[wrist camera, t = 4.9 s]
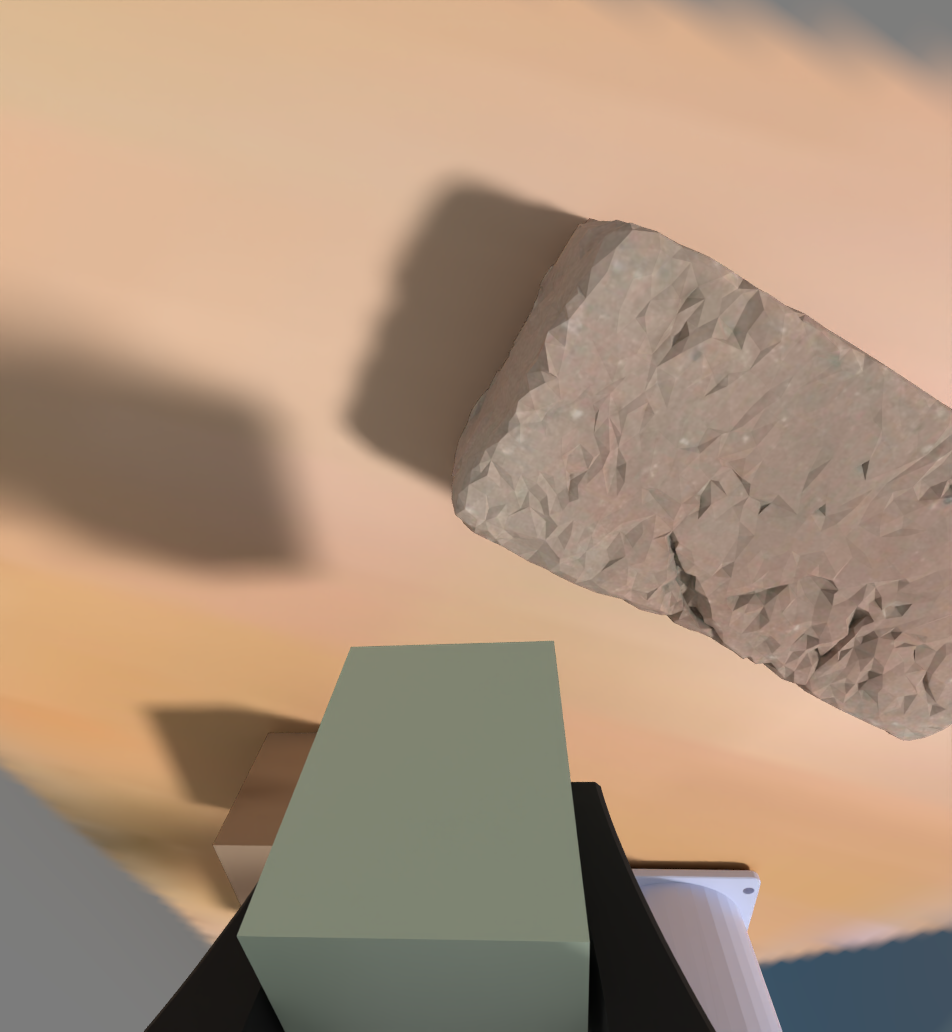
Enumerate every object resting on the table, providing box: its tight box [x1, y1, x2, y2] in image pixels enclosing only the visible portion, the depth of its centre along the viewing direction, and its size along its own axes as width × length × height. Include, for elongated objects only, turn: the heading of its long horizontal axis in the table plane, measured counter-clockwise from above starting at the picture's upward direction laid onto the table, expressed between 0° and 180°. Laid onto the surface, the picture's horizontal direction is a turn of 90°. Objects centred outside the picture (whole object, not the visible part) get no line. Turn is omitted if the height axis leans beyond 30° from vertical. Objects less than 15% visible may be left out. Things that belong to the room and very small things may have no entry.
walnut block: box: [213, 733, 317, 906], centre depth 22 cm, size 6×4×5 cm, turn 4°
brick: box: [452, 218, 952, 741], centre depth 15 cm, size 17×8×5 cm, turn 64°
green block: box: [237, 641, 590, 1032], centre depth 10 cm, size 6×4×5 cm, turn 5°
